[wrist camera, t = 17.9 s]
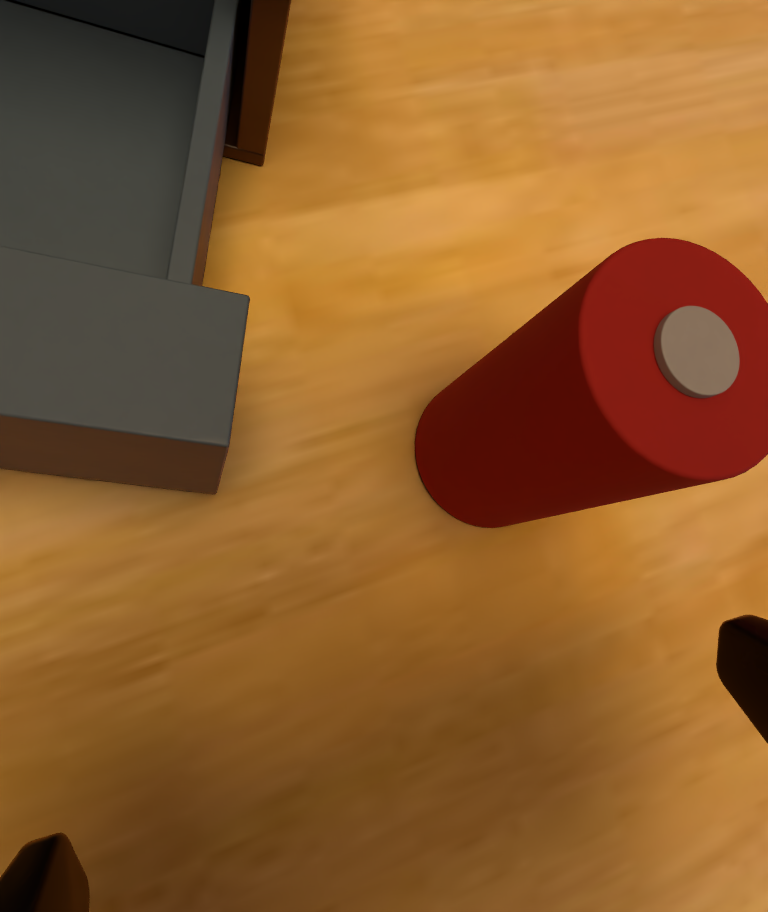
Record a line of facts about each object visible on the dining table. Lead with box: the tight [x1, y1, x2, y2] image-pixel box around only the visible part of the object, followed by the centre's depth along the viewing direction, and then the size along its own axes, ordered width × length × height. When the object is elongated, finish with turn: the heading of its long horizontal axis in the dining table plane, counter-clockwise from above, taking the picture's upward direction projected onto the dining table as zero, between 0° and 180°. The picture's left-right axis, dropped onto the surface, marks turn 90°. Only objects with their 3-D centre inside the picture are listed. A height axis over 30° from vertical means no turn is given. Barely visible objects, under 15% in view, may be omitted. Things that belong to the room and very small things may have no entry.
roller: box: [415, 238, 768, 528], centre depth 15 cm, size 4×4×8 cm
